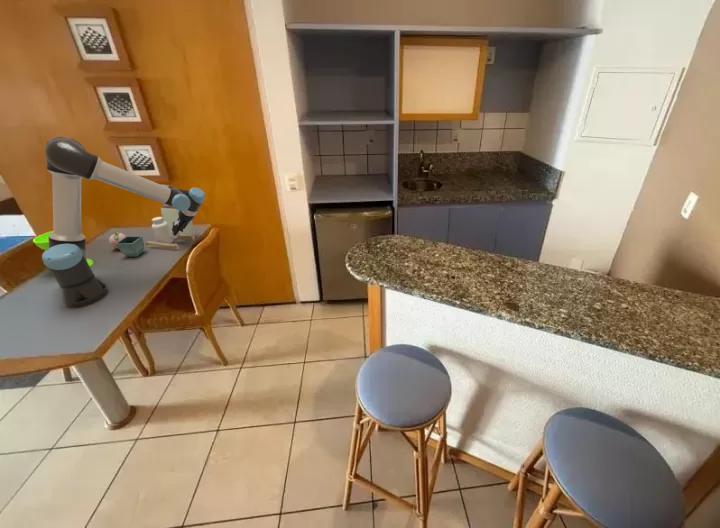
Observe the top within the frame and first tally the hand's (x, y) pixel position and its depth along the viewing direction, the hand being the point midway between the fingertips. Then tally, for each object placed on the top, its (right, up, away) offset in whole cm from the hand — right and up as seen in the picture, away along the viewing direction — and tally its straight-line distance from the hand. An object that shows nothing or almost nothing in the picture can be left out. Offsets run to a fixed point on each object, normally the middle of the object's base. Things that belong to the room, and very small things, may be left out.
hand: (174, 237), depth 176 cm
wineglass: (-39, -17, -20) cm, 47 cm away
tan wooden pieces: (-1, -2, +3) cm, 4 cm away
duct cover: (0, +9, +2) cm, 10 cm away
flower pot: (-15, -11, -10) cm, 21 cm away
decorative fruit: (-27, -7, -4) cm, 28 cm away
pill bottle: (-5, -3, +2) cm, 6 cm away
